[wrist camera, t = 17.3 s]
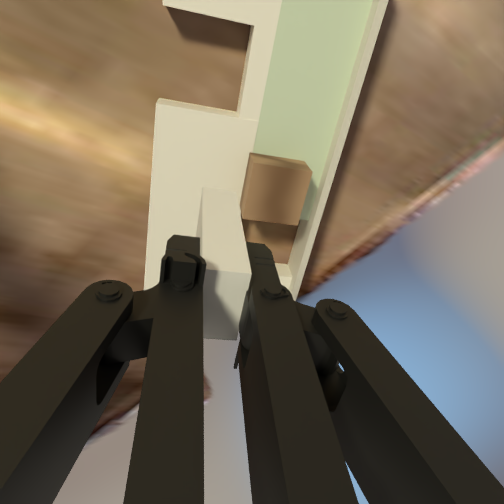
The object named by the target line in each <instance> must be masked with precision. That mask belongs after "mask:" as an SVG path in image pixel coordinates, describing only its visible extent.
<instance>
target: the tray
mask: <svg viewBox="0 0 504 504" xmlns="http://www.w3.org/2000/svg"><path fill="white" fill-rule="evenodd" d="M388 1H389V0H163V5H164V6H167V7H172V8H176V9H181V10H185V11H189V12H194V13H198V14H203V15H207V16H212V17H216V18H221V19H225V20H229V21H234V22H238V23H243V24H247V25H251V29H250V35H249V41H248V47H247V53H246V59H245V65H244V71H243V77H242V83H241V89H240V95H239V101H238V107H237V112H235V111H230V110H224V109H219V108H213V107H208V106H202V105H196V104H191V103H185V102H180V101H174V100H169V99H163V98H159V99H158V101H157V103H156V114H155V129H154V144H153V159H152V174H151V190H150V205H149V220H148V235H147V251H146V266H145V281H144V290H147V289H150V288H152V287H154V286H155V285H157V284H158V283H159V280H160V268H161V259H162V257H163V256H164V255H165V251H166V245H167V240H168V239H169V238H171V237H172V236H173V235H183V236H191V237H196V231H197V224H198V217H199V209H200V202H201V195H202V187H205V188H213V189H220V190H227V191H234V192H236V195H237V200H238V205H239V210H240V200H241V194H242V189H243V184H244V179H245V174H246V168H247V163H248V158H249V153H250V152H251V153H258V154H264V155H270V156H276V157H282V158H289V159H295V160H301V161H305V162H306V164H307V165H308V166H309V168H310V169H311V170H312V172H313V173H312V176H311V180H310V183H309V187H308V191H307V194H306V198H305V201H304V205H303V208H302V212H301V216H300V222H299V226H298V229H297V233H296V237H295V240H294V244H293V247H292V251H291V254H290V258H289V262H288V264H279V263H275V266H276V269H277V272H278V276H279V279H280V282H281V285H283V286H285V287H286V288H287V289H288V290H289V291H290V292H291V294H292V297H293V300H294V301H296V298H297V295H298V292H299V289H300V285H301V282H302V279H303V276H304V272H305V269H306V266H307V263H308V260H309V256H310V253H311V250H312V247H313V243H314V240H315V237H316V234H317V230H318V227H319V224H320V221H321V217H322V214H323V211H324V208H325V205H326V201H327V198H328V195H329V192H330V188H331V185H332V182H333V179H334V175H335V172H336V169H337V166H338V162H339V159H340V156H341V153H342V150H343V146H344V143H345V140H346V137H347V133H348V130H349V127H350V124H351V120H352V117H353V114H354V111H355V107H356V104H357V101H358V98H359V94H360V91H361V88H362V85H363V82H364V78H365V75H366V72H367V69H368V65H369V62H370V59H371V56H372V52H373V49H374V46H375V43H376V39H377V36H378V33H379V30H380V27H381V23H382V20H383V17H384V14H385V10H386V7H387V4H388ZM240 215H241V210H240Z"/></svg>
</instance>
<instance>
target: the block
mask: <svg viewBox="0 0 504 504" xmlns="http://www.w3.org/2000/svg"><path fill="white" fill-rule="evenodd" d="M312 173H313V172H312V170H311V169H310V168H309V166H308V165H307V164H306V162H305V161H301V160H295V159H289V158H282V157H276V156H270V155H264V154H258V153H251V152H250V153H249V158H248V163H247V168H246V174H245V179H244V184H243V189H242V194H241V200H240V210H241V214H242V219H248V220H256V221H264V222H272V223H280V224H288V225H296V226H298V223H299V219H300V216H301V212H302V208H303V205H304V201H305V198H306V194H307V191H308V187H309V183H310V180H311V176H312Z"/></svg>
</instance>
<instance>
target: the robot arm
mask: <svg viewBox="0 0 504 504" xmlns="http://www.w3.org/2000/svg"><path fill="white" fill-rule="evenodd" d="M238 331H239V333H240V342H239V346H238V351H237V354H236V358H235V363H234V369H237V366H238V363H239V372H240V383H241V393H242V403H243V413H244V423H245V433H246V443H247V453H248V463H249V473H250V483H251V493H252V502H253V504H359V503H358V500H357V497H356V494H355V491H354V487H353V484H352V481H351V478H350V475H349V472H348V469H347V466H346V463H347V465H348V467H349V468H350V470H351V472H352V474H353V476H354V478H355V479H356V481H357V483H358V485H359V487H360V488H361V490H362V492H363V494H364V496H365V497H366V499H367V501H368V503H369V504H504V488H503V486H502V485H501V484H500V483H499V481H498V480H497V479H496V478H495V477H494V475H493V474H492V473H491V472H490V471H489V470H488V468H487V467H486V466H485V465H484V464H483V462H482V461H481V460H480V459H479V458H478V456H477V455H476V454H475V453H474V452H473V451H472V449H471V448H470V447H469V446H468V445H467V444H466V442H465V441H464V440H463V439H462V438H461V436H460V435H459V434H458V433H457V432H456V431H455V430H454V428H453V427H452V426H451V425H450V423H449V422H448V421H447V420H446V419H445V417H444V416H443V415H442V414H441V413H440V412H439V410H438V409H437V408H436V407H435V406H434V404H433V403H432V402H431V401H430V400H429V399H428V397H427V396H426V395H425V394H424V393H423V391H422V390H421V389H420V388H419V387H418V385H417V384H416V383H415V382H414V381H413V380H412V378H411V377H410V376H409V375H408V374H407V372H406V371H405V370H404V369H403V368H402V367H401V365H400V364H399V363H398V362H397V361H396V360H395V358H394V357H393V356H392V355H391V354H390V352H389V351H388V350H387V349H386V348H385V346H384V345H383V344H382V343H381V342H380V341H379V339H378V338H377V337H376V336H375V335H374V333H373V332H372V331H371V330H370V329H369V328H368V326H367V325H366V324H365V323H364V322H363V320H362V319H361V318H360V317H359V316H358V314H357V313H356V312H355V311H354V310H353V309H352V308H350V306H349V305H347V304H345V303H343V302H341V301H338V300H334V299H323V300H320V301H319V302H318V303H317V304H316V307H315V308H314V307H310V306H307V305H303V304H301V303H298V302H296V301H294V300H293V297H292V294H291V292H290V291H289V290H288V289H287V288H286V287H285V286H283V285H281V282H280V279H279V276H278V272H277V269H276V266H275V262H274V260H273V255H272V252H271V250H270V249H269V248H268V247H267V246H266V245H265V244H260V243H251V242H246V241H245V236H244V231H243V226H242V221H241V215H240V210H239V205H238V200H237V195H236V192H234V191H227V190H220V189H213V188H205V187H202V195H201V202H200V209H199V217H198V224H197V231H196V237H191V236H183V235H173V236H172V237H171V238H169V239H168V240H167V245H166V251H165V255H164V256H163V257H162V259H161V268H160V280H159V283H158V284H157V285H155V286H154V287H152V288H150V289H147V290H142V291H136V292H133V291H132V288H131V287H130V286H129V285H127V284H126V283H123V282H121V281H116V280H103V281H98V282H96V283H93V284H91V285H90V286H88V287H87V288H86V289H85V290H84V291H83V292H82V293H81V294H80V295H79V296H78V298H77V299H76V300H75V301H74V302H73V303H72V304H71V305H70V306H69V307H68V309H67V310H66V311H65V312H64V313H63V314H62V315H61V316H60V317H59V319H58V320H57V321H56V322H55V323H54V324H53V325H52V326H51V327H50V328H49V330H48V331H47V332H46V333H45V334H44V335H43V336H42V337H41V338H40V340H39V341H38V342H37V343H36V344H35V345H34V346H33V347H32V348H31V349H30V351H29V352H28V353H27V354H26V355H25V356H24V357H23V358H22V359H21V361H20V362H19V363H18V364H17V365H16V366H15V367H14V368H13V369H12V371H11V372H10V373H9V374H8V375H7V376H6V377H5V378H4V379H3V380H2V382H1V383H0V504H52V503H53V501H54V500H55V498H56V496H57V494H58V492H59V490H60V489H61V487H62V485H63V483H64V481H65V480H66V478H67V476H68V474H69V473H70V471H71V469H72V467H73V465H74V463H75V462H76V460H77V458H78V456H79V454H80V453H81V451H82V449H83V447H84V445H85V444H86V442H87V440H88V438H89V436H90V435H91V433H92V431H93V429H94V427H95V426H96V424H97V422H98V420H99V418H100V417H101V415H102V413H103V411H104V409H105V408H106V406H107V404H108V402H109V400H110V398H111V397H112V395H113V393H114V391H115V389H116V388H117V386H118V384H119V382H120V380H121V379H122V377H123V375H124V373H125V371H126V370H127V368H128V366H129V362H130V360H135V359H140V358H145V357H147V361H146V367H145V373H144V379H143V386H142V392H141V398H140V404H139V410H138V416H137V422H136V429H135V435H134V441H133V448H132V453H131V460H130V466H129V472H128V478H127V484H126V491H125V497H124V502H123V504H204V393H203V338H207V339H222V340H237V335H238ZM339 363H340V364H341V365H342V367H343V369H344V371H343V370H342V369H341V368H340V366H339V365H338V364H339ZM345 461H346V462H345Z"/></svg>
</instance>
